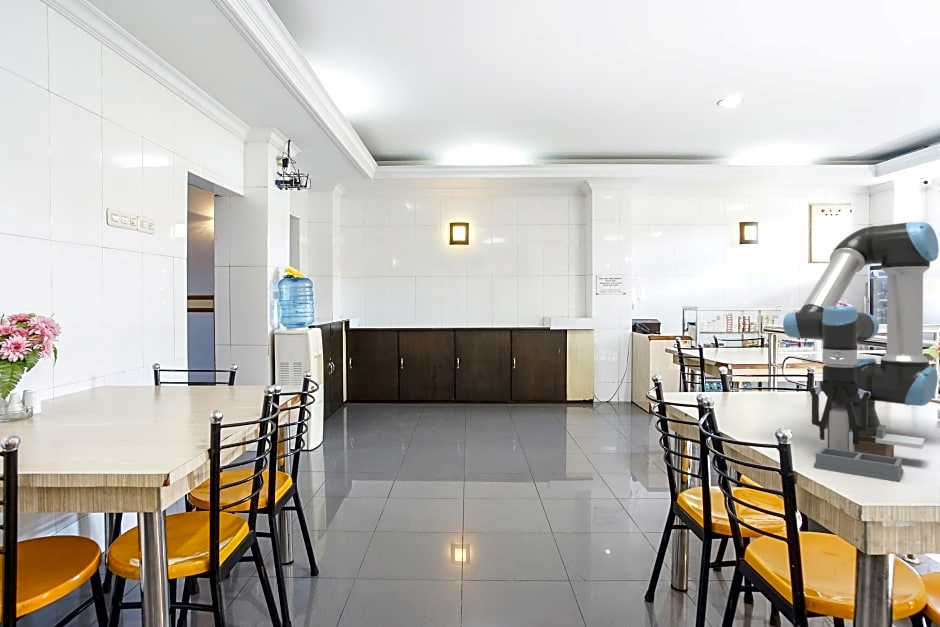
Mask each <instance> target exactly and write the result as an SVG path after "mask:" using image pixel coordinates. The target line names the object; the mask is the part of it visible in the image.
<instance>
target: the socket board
mask: <svg viewBox="0 0 940 627" xmlns="http://www.w3.org/2000/svg"><path fill="white" fill-rule="evenodd" d="M813 469H819V470H826V471H832V472H837V473H838V472H839V473H844V474H849V475H855V476H861V475H862V477H867V476H868V478H873V479H874V478H875V479H879V480H885V481H891V482H892V481H893V482H899V483H900V482H901V479H902V477H903V475H904V471H905V470H904V468H903V458H900V457H895V456H894V457H887V456H880V455H873V454H866V453H859V452H852V451H845V450H838V449H831V448H824V446H823V447H822V448H820V449H819V450H818V451H817V452H816V453H815V462H814V463H813Z"/></svg>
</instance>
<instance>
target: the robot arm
mask: <svg viewBox="0 0 940 627" xmlns="http://www.w3.org/2000/svg"><path fill="white" fill-rule="evenodd" d="M939 248H940V247H939V241H938V237H937V235H936V232H935V230H934V228H933V226H932V225H930V223H927V222H926V221H925V222H924V221H923V222H922V221H915V222H911V221H907V222H902V223H901V222H900V223H891V224H883V225H882V224H881V225H870V226H866V227H863V228H861V229H859V230H856V231H854V232H853V233H851V234H849V235H848V236H847V237H845V238H844V239H843V240H841V241H840V242H839V243H838V244H837V245H836V247H835V248H834V249H833V251H832V252H831V254H830V256H829V264H828V265H827V267H826V269H825V270H824V272H823V273H822V275H821V277H820V278H819V280H818V281H817V283H816V284H815V286H814V288H813V289H812V291H811V292H810V294H809V296H808V297H807V299H806V300H805V302H804V304H802V307H801V308H800V309H799V311H793V312H788V313H786V314H785V316H784V318H783V323H782V328H783V331H784V334H785V335H786V336H787V337H789V338H793V339H804V340H805V339H807V340H808V339H810V340H822V364H824V365H823V366H822V382H821V384H820V385H819V386H811V387H810V388H809V392H810V396H811V423H812V425H813V426H816V427H818V428H819V439H820V441H824V444H823V447H824V448H829V412H830V410H831V408H841V409H847V412H848V416H849V420H850V432H849V451H852V452H854V444H856V445H858V443H859V435H861V436H869V437H876V429H877V428H878V426H879V425H882V424H881V421H880V420H879V416H878V413H877V411H876V402H880V403H881V402H884V403H893V404H901V405H905V406H917V407H918V406H920V407H923V406H926V405H928V404H929V403H930V402H931V401H932V399H933V398H934V395H935V393H936V391H937V387H938V386H937V385H938V380H939V378H938V370H937V369H936V368H934V367H933V366H930V360H929V359H928V358H927V357H926V356H924V354H923V352H924V351H923V348H924V347H923V344H924V343H923V338H924V337H923V333H924V332H923V331H924V328H923V326H924V323H923V322H924V320H923V319H924V316H923V315H924V313H923V312H924V274H925V272H927V270H929V269H930V268H931V264H930V263H931V262H934V261H937V259H938V257H939ZM871 264H874V265H877V264H880V265H881V266H880V267H881V269H880V270H882V271H883V272H884V273H885V274H886V276H887V277H886V278H887V280H886V282H887V283H886V284H887V286H886V291H887V292H886V353H885V355H883V356H882V357H880V363H877V360H876V358H858V342H864V341H868V340H870V339H872V338H874V337H875V336H876V335H877V333H878V332H879V329H880V325H879V322H878V320H877V318H876V317H875V316H874V315H872V314H870V313H865V312H863V311H862V312H858V309H857V308H856V307H855V306H849V305H847V306H846V305H845V306H844V305H842V306H837V305H838V304H839V302H840V300H841V299H842V297H843V295H844V294H845V292H846V290H847V288H848V287H849V285H850V283H851V282H852V280H853V278H854V277H855V275H856V274H857V273H859V272H861V271H862V270H863V269H864V267H865V266H867V265H871ZM821 392H823V394H825V396H826V398H827V399H826V402H825V405H824V409H823V412H822V416H821V419H820V394H821Z"/></svg>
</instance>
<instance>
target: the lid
mask: <svg viewBox="0 0 940 627" xmlns="http://www.w3.org/2000/svg"><path fill="white" fill-rule="evenodd" d="M875 437H876V443H880V444H888V445H894V446H897V447H905V448H910V449H911V448H912V449H918V450H919V449H920V450H922V449H923V447H924V445H925V443H926V441H925V440H926V439H925V438H924V437H917V436H916V437H915V436H910V435H909V436H906V435H901V434H900V435H899V434H894V433H893V434H892V433H887V424H886V425H883V424H881V425H879V426H878V428H877V429H876V435H875Z"/></svg>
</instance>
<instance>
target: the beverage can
mask: <svg viewBox="0 0 940 627" xmlns="http://www.w3.org/2000/svg"><path fill="white" fill-rule="evenodd" d="M849 432H850V420H849V416H848V412H847V409H841V408H831V410H830V412H829V448H831V449H838V450H845V451H849Z"/></svg>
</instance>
